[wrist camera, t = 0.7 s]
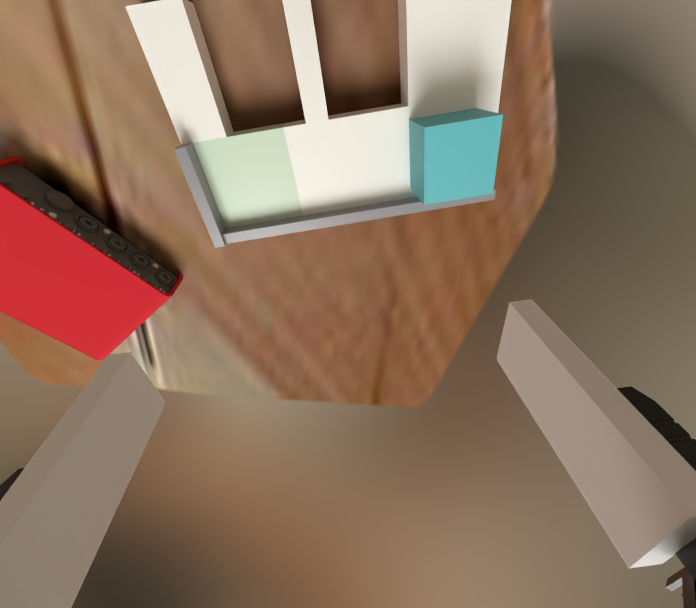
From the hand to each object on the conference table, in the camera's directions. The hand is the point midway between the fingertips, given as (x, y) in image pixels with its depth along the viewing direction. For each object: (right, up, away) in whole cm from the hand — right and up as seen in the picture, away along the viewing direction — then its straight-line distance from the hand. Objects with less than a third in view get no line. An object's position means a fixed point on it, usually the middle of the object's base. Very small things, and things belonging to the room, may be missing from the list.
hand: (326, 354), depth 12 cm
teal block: (+10, +16, +19) cm, 26 cm away
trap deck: (0, +20, +19) cm, 27 cm away
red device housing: (-30, +7, +26) cm, 40 cm away
